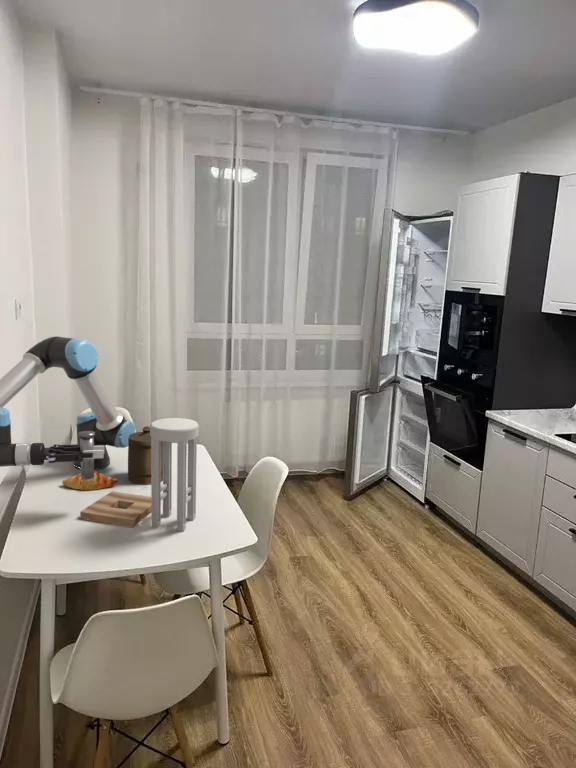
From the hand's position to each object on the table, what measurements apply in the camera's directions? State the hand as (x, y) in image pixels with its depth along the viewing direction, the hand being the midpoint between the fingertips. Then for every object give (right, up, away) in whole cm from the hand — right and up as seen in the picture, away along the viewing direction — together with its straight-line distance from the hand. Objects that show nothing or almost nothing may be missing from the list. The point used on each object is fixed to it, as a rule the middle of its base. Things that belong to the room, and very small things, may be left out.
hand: (103, 451), depth 199 cm
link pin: (-6, -9, 0) cm, 11 cm away
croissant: (-14, -17, +26) cm, 34 cm away
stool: (+25, -24, -3) cm, 35 cm away
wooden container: (+6, -16, +38) cm, 41 cm away
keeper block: (+5, -22, +4) cm, 23 cm away
